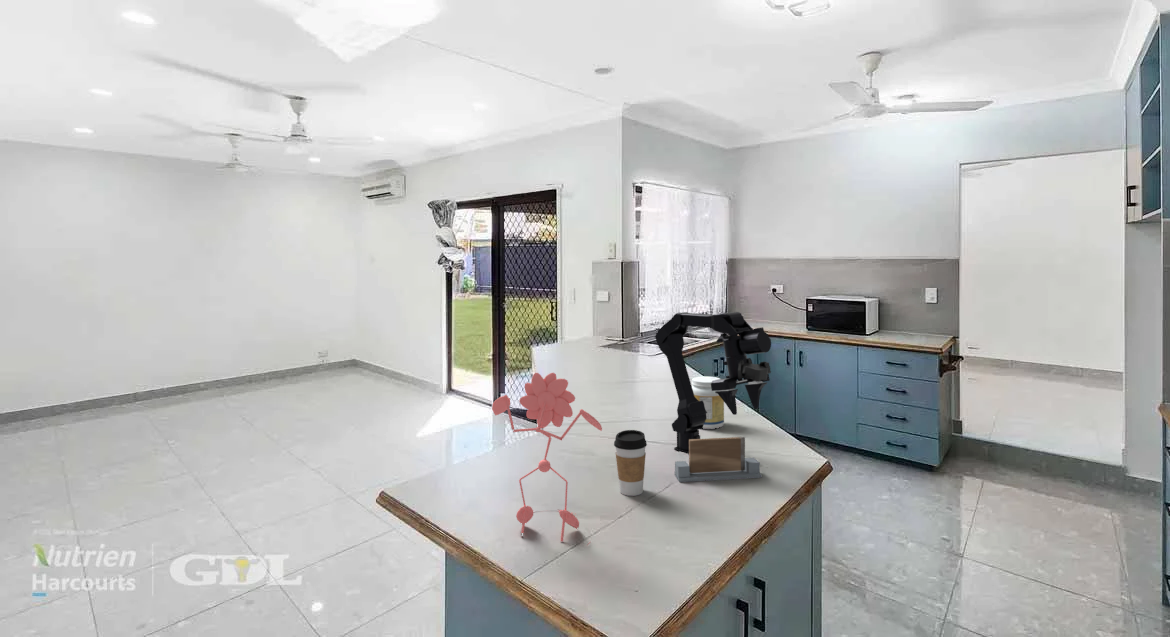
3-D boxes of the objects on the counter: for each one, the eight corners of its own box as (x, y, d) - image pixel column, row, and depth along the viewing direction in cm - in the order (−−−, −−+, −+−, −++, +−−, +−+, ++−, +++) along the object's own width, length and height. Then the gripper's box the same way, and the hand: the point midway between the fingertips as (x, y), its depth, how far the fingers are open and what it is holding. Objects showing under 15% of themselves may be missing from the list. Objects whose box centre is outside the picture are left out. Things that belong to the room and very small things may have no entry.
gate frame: (674, 475, 150) (674, 460, 150) (754, 470, 151) (754, 456, 151) (678, 482, 145) (678, 467, 145) (761, 477, 146) (761, 463, 146)
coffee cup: (650, 486, 142) (649, 430, 141) (643, 499, 134) (642, 440, 133) (619, 483, 145) (618, 428, 144) (611, 496, 137) (609, 438, 136)
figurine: (599, 548, 111) (595, 379, 109) (485, 535, 118) (479, 376, 116) (616, 517, 126) (613, 367, 124) (513, 506, 133) (508, 365, 131)
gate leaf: (688, 471, 148) (688, 439, 147) (743, 468, 149) (743, 436, 148) (690, 473, 147) (690, 441, 146) (745, 470, 148) (745, 438, 147)
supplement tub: (688, 420, 203) (688, 375, 202) (722, 420, 201) (722, 375, 200) (690, 429, 191) (690, 382, 190) (726, 430, 189) (726, 382, 188)
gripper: (737, 357, 141) (747, 417, 139) (780, 349, 152) (790, 405, 150) (705, 361, 150) (714, 417, 149) (748, 353, 161) (757, 406, 159)
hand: (745, 411), depth 151 cm, fingers open, 9 cm apart
